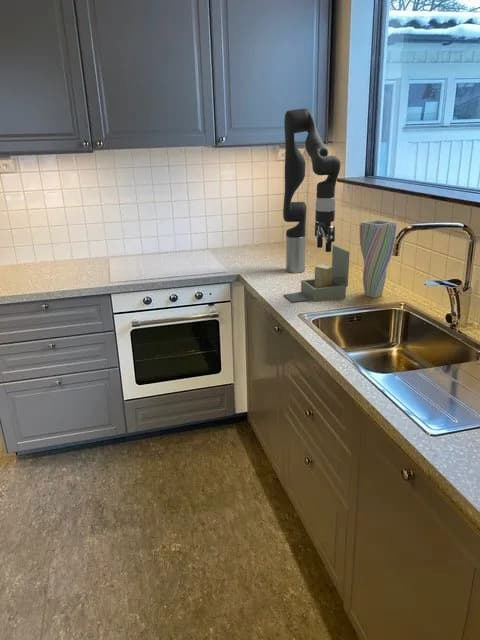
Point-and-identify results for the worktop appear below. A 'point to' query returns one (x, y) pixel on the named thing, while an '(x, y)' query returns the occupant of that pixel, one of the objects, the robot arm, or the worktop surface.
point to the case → (338, 278)
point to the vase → (376, 253)
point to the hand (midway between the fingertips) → (323, 249)
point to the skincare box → (323, 276)
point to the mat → (296, 297)
